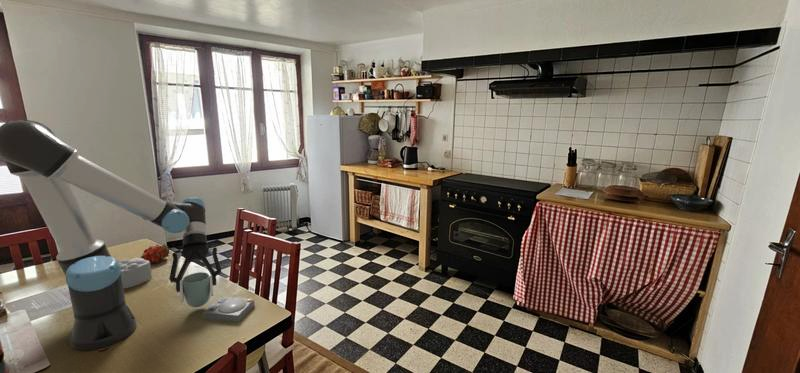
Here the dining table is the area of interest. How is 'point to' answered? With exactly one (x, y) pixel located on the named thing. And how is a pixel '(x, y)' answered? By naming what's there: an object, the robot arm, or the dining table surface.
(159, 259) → the dragon fruit
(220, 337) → the dining table surface
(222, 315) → the soap dish with soap
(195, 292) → the cup
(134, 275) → the white bumpy block
